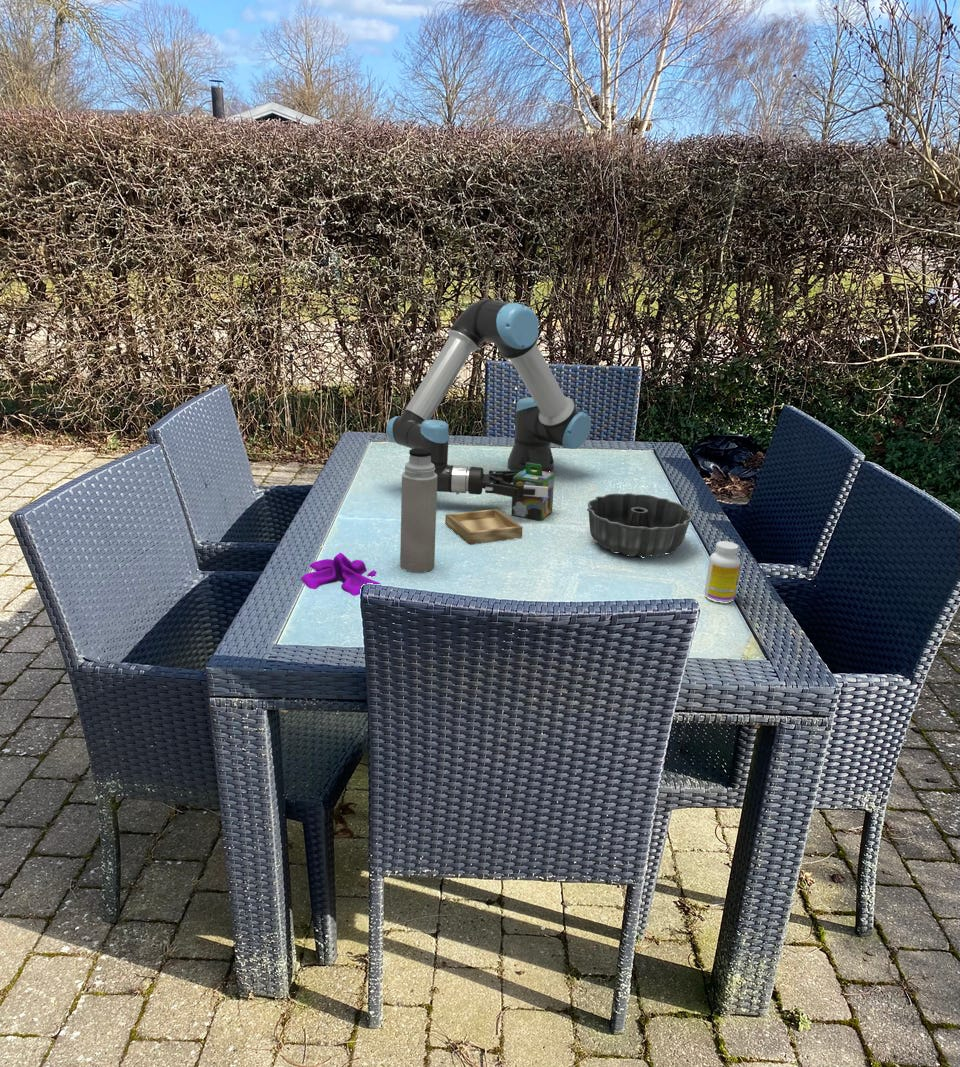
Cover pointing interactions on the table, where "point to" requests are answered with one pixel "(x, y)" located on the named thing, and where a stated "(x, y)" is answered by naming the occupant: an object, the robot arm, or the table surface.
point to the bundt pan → (638, 523)
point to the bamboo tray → (483, 526)
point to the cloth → (339, 574)
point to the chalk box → (532, 504)
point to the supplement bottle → (723, 572)
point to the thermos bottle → (418, 512)
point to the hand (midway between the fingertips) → (547, 485)
